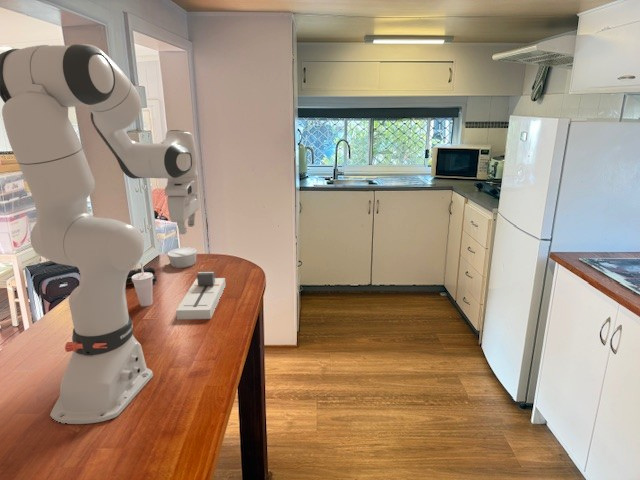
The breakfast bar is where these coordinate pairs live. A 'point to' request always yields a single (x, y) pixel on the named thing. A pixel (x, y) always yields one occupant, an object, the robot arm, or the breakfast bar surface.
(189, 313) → the fader console
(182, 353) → the breakfast bar surface
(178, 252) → the ramekin
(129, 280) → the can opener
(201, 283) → the fader knob
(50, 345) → the breakfast bar surface
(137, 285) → the smoothie
